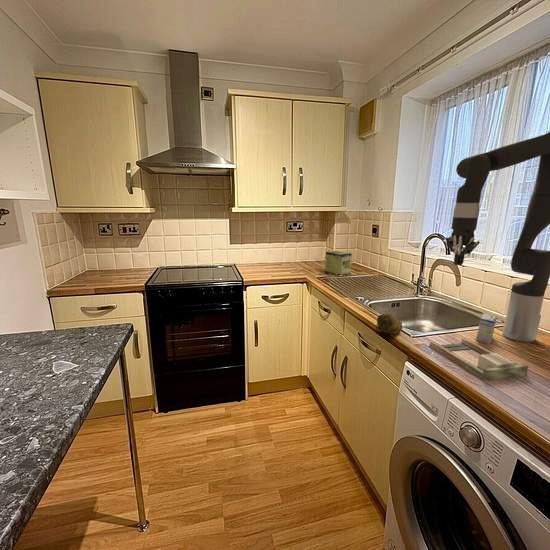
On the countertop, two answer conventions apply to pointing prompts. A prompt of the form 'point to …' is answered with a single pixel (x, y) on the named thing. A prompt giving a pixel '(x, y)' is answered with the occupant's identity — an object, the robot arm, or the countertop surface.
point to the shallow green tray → (486, 374)
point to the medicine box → (486, 328)
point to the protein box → (338, 262)
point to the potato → (389, 324)
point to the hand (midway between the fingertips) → (458, 264)
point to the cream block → (493, 361)
